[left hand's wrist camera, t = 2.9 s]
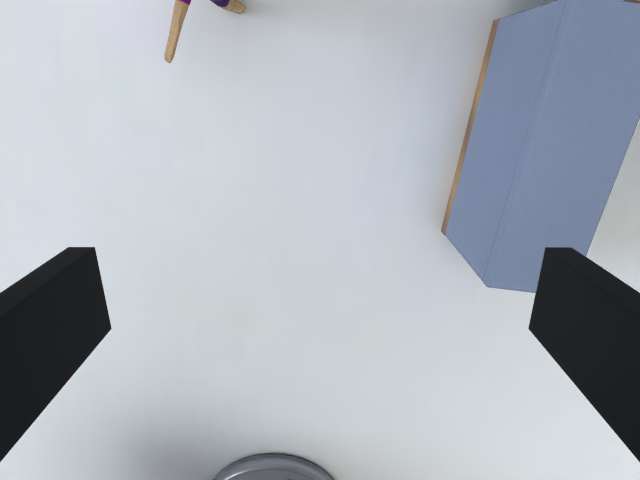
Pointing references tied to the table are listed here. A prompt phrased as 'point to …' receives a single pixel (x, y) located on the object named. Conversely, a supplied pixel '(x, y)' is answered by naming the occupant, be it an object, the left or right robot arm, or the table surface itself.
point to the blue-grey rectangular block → (545, 136)
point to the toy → (181, 6)
